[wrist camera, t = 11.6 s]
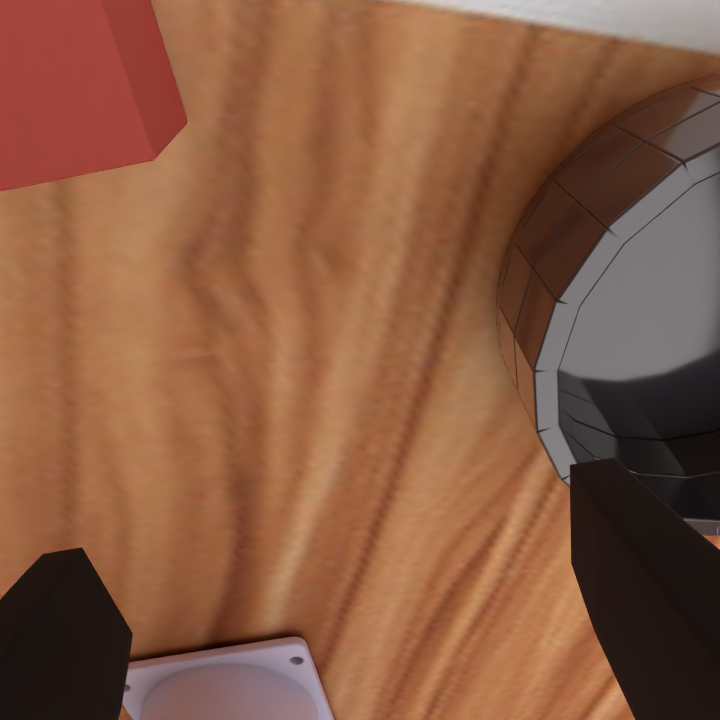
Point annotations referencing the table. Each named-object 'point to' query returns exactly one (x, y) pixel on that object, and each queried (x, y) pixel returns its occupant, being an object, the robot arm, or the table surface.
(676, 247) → the pot
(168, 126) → the brick red cuboid
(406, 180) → the table surface
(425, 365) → the table surface
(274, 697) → the robot arm
